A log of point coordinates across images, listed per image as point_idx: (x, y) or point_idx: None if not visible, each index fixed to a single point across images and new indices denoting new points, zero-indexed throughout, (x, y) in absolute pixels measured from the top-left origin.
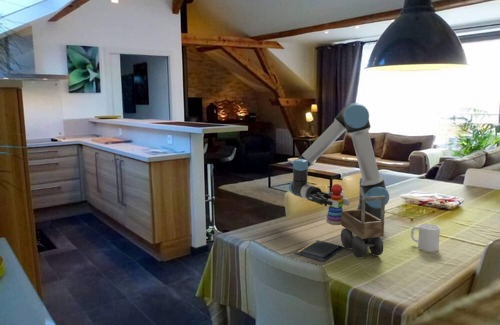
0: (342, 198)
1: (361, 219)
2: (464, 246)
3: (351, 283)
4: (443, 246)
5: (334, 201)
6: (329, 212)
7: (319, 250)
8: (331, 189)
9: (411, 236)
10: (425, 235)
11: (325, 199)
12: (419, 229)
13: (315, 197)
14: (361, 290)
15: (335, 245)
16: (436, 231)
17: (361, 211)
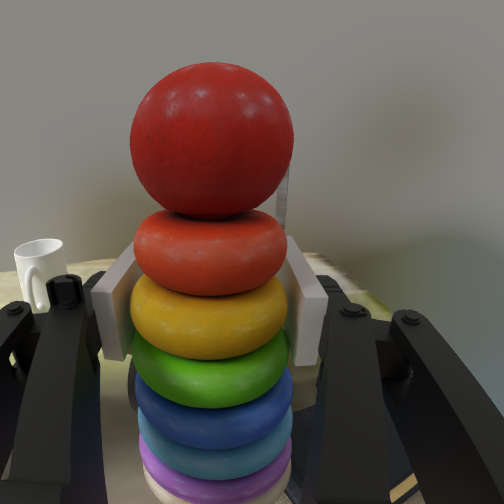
0: (133, 263)
1: (285, 210)
2: (5, 282)
3: (360, 297)
4: (20, 297)
5: (298, 249)
6: (290, 408)
7: (385, 415)
8: (291, 140)
9: (35, 309)
10: (65, 263)
11: (361, 306)
12: (49, 263)
13: (498, 412)
14: (353, 284)
15: (291, 434)
16: (55, 243)
17: (287, 179)
